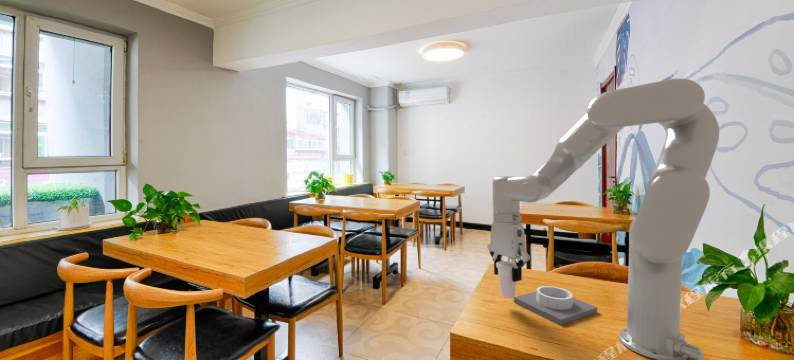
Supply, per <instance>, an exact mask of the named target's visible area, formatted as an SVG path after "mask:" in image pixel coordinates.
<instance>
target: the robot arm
mask: <svg viewBox="0 0 794 360" xmlns="http://www.w3.org/2000/svg"><path fill="white" fill-rule="evenodd" d="M705 97H706V94H705V90H704V88H703V87H702V86H701V85H700V84H699V83H698V82H696V80H695V81H694V80H692V79H687V78H670V79H666V80H660V81H654V82H650V83H644V84H640V85H633V86H628V87H623V88H622V87H621V88H618V89H613V90H608V91H606V92H605V91H604V92H602V93H599V94H598V95H596V96H595V97H594V98H593V99H592V100H591V101H590V102H589V104H588V106H587V109H586V113H585V114H584V115H583V116H582V117H581V118H580V119H579V120H578V121H577V122H576V123H575V124H574V125H573V126H572V127H571V128H570V129H569V130H568V131H567V132H566V133H565V134H564V135H563V136H561V138H560V139H559V140H558V141H557V143H556V145H555V149H554V150H553V153H552V154H551V156H550V157H549V158H548V160H547V161H546V162H545V163H544V164H543V165H542V166H541V167H540V168H539V169H538V170H537V171H535V173H534V174H532V175H531V174H530V175H524V176H519V177H518V176H508V175H506V176H503V175H502V176H496V177H493V179H492V214H493V215H492V217H493V218H492V219H493V220H492V223H491V229H490V243H489V244H488V245H487V246H486V247H487V250H488V251H489V255H490V256H491V260H492V262H493V274H494V275H496V276H499V274H498V268H497V267H496V263H497V262H499V261H504V260H503V259H502V258H503V257H505V258H506V257H507V258H508V257H509V258H510V260H511V261H512V263H513V266H514V268H512V281H513V282H516V283H517V282H520V281H521V282H522V279H523V277H522V275H523V272H522V271H523V270H522V268H523V267H524V266H525V265H526V264H527V262H528V261H530V259H531V256H530V254H529V253H528V252H527V244H526V235H525V230H524V225H523V223H522V222H521V221H522V219H523V217H522V216H521V214H520V213H521V211H520V209H521V208H520V204H521V203H520V202H524V203H531V204H532V203H536V202H539V201H542V200H545V199H546V198H548V197H549V196H550V195H552V194H553V193H554V192H555V191H556V190H558V188H559V187H561V185H563V184H564V183H565V182H566V181H567V180H568V179H569V178H570V177H571V176H572V175H574V173H575V172H576V171H577V170H579V169H580V168H581V167H583V166H584V165H585V164H586V162H588V161H589V159H590V160H591V158H592V157H593V156H594V155H595V154H596V153H597V152H598V151H599V150H600V149H601V148H603V147H604V146H605V145H606V144H607V143H608V142H609V141H611V140H612V139H613V138H614V137H616V135H617V134H618V133H619V132H621V131H622V130H623V129H624V128H625V127H634V126H642V125H650V124H651V125H652V124H657V123H658V124H660V125H661V127H663V128H664V131H665V140H664V143H663V146H662V149H661V153H660V154H659V158H658V160H657V163H656V165H655V168H654V170H653V173H652V174H651V176H650V177H649V179H648V181H647V183H646V190H645V193H644V195H643V198H642V201H641V204H640V205H639V209H638V211H637V213H636V216H635V218H634V219H633V220H632V221H631V223H630V225H629V229H628V241H629V242H628V244H629V245H628V277H627V305H626V306H627V308H626V310H627V311H626V328H622V329H621V330H619V332H618V340H619V341H620V343H621V344H622V345H624V346H625V347H627V348H628V349H629V350H631V351H632V352H636V353H638V354H639V355H641V356H644V357H647V358H650V359H653V360H688V358H690V359H692V360H704V357H705V356H704V352H702V348H701V347H699V346H696V345H694V344H692V343H691V344H690V343H688V341H686V334H684V333H682V332H680V327H681V325H680V324H681V304H682V303H681V302H682V301H681V299H682V298H681V297H682V285H683V284H682V282H683V280H682V279H683V256H684V255H685V254H686V253H687V252H688V250H689V248H690V246H691V243H692V241H693V239H694V237H695V235H696V232H697V230H698V228H699V225H700V223H701V220H702V219H703V216H704V213H705V211H706V209H707V206H708V203H709V199H710V194H711V191H710V190H711V189H710V184H709V183H708V181H707V179H706V178H707V175H708V172H709V171H710V167H711V165H712V162H713V159H714V156H715V152H716V150H717V147H718V143H719V140H720V126H719V122H718V120H717V118H716V116H715V114H714V113H713V111H712V110H711V109H710V108H709V107H708V106H707V105H706V104H705V99H706V98H705Z"/></svg>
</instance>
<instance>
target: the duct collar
mask: <svg viewBox="0 0 794 360" xmlns="http://www.w3.org/2000/svg"><path fill="white" fill-rule="evenodd" d="M513 303H515V304H518V305H519V306H521V307H523V308H526V309H527V310H529V311H531V312H533V313H535V314H537V315H539V316H541V317H543V318H545V319H547V320H550V321H551V322H554V323H555V324H557V325H560V326H563V325H566V324H569V323H572V322H574V321H578V320H579V319H580V320H581V319H582V318H586V317H589V316H591V315H594V314H597V313H598V307H597V306H595V305H592V304H590V303H588V302H585V301H582V300H580V299H577V298H576V297H575V298H574V295H573V293H572V292H571V291H569V290H567V289H565V288H563V287H556V286H552V285H550V286H549V285H548V286H547V285H544V286H543V285H542V286H538V287H537V288H536V290H535V291H532V292H529V293H525V294H521V295H518V296H515V297H514V298H513Z"/></svg>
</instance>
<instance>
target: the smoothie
mask: <svg viewBox="0 0 794 360" xmlns="http://www.w3.org/2000/svg"><path fill="white" fill-rule="evenodd" d="M510 260H511V258H509V257H507V260H503V261H499V262H497V263H496V267H497V268H498V279H499V280H498V281H499V287H500V292H501V293H500V294H501V296H502V297H503V298H506V299H514V297H516V286H517V282H513V281H512V268H514V266H513V263H512V260H511V261H510Z"/></svg>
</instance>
